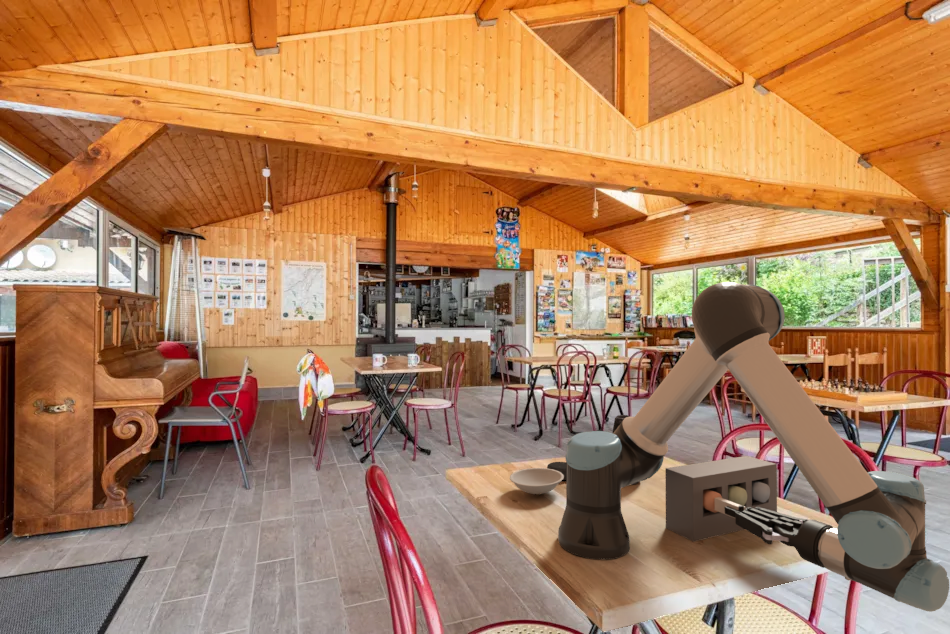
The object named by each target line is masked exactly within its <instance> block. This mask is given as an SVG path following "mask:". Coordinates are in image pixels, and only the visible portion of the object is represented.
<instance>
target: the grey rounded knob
mask: <svg viewBox="0 0 950 634" xmlns="http://www.w3.org/2000/svg"><path fill="white" fill-rule="evenodd" d="M738 487H740V483H738ZM769 496H770V488H769V486H768V485H767V484H765V483H761V482H758V481H755V480H754V481H752V499H754V500H757V501H760V502H766V501H767V500H768V499H769Z"/></svg>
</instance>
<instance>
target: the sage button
mask: <svg viewBox="0 0 950 634" xmlns="http://www.w3.org/2000/svg"><path fill="white" fill-rule="evenodd" d="M715 492H716V488H715ZM728 500H729V501H731V502H734V503H737V504H739V505H742V506H744V505H745V503H746V501H747V492H746V490H745V489H743V488H740V487H737V486H734V485H728Z"/></svg>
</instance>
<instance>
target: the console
mask: <svg viewBox="0 0 950 634" xmlns="http://www.w3.org/2000/svg"><path fill="white" fill-rule="evenodd" d="M777 468H778V467H777V463H774V462H771V461H768V460H764V459H761V458H756V457H753V456H749V455H744V456H738V457H737V456H736V457H730V458H724V459H718V460H717V459H716V460H712V461H704V462H697V463H692V464H686V465H685V464H683V465H679V466H678V465H677V466H671V467H665V529H667V530H669V531H671V532H673V533H675V534H678V536H681V537H684V538H685V539H687V540H689V541H692V542H698V541H702V540H705V539H710V538H714V537H718V536H722V535H727V534H730V533H731V534H732V533H735V532H739V531H745V529H743V528H742V527H740V526H738V525H736V522H735V518H733V517H730V516H728V515H726V514H723V513H721V512H716V513H714V512H711V511H709V510H706V509H704V508H703V490H705V489H709V490H712V491H714V492H715V488H716V492H717V493H719V494H720V495H721V496H722V498H723V499H726V500H728V485H734V486H737V487H738V483H740V488H743V489H745V490H746V492H747V501H746V503H745V505H744V506H745V507H746V508H747V507H752V508H754V509H756V507H761V508H764V509H768V510H771V511H775V512H778V492H777V491H778V487H777V486H778V481H777V479H778V477H777V475H778V474H777V473H778V469H777ZM754 480H755V481H758V482H761V483H765V484H767V485H768V486H769V488H770V496H769V499H768V500H767V501H766V502H760V501H757V500H754V499H752V481H754Z"/></svg>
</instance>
